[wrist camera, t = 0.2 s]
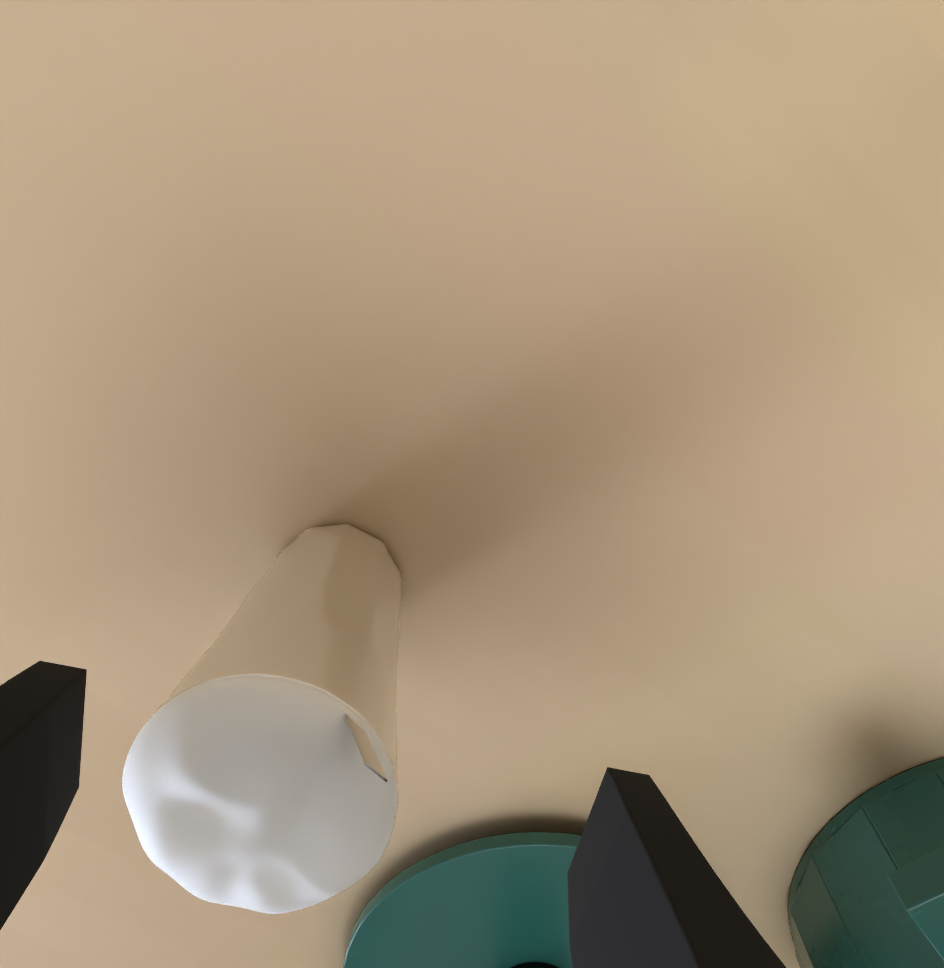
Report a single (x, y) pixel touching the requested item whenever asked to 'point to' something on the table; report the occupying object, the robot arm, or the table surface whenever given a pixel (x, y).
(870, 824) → the tin
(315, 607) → the milkshake
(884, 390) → the table surface
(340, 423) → the table surface
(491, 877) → the lid
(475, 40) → the table surface
